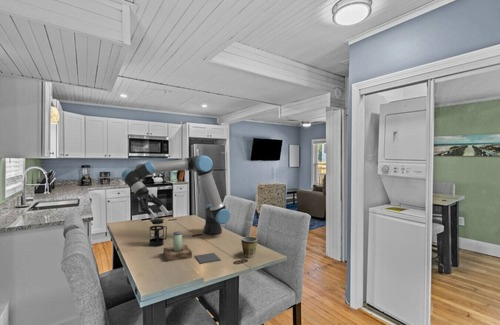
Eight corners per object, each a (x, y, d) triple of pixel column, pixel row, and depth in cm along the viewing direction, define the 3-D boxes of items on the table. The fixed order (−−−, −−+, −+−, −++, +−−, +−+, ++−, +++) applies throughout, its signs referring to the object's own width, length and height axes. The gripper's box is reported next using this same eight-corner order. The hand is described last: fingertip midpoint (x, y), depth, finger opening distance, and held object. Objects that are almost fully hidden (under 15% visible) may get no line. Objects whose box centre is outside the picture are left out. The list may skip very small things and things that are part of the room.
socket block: (186, 250, 161) (186, 244, 161) (191, 257, 149) (191, 251, 149) (163, 253, 155) (163, 247, 155) (167, 261, 143) (167, 255, 143)
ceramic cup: (259, 257, 151) (259, 240, 152) (243, 259, 149) (243, 242, 149) (252, 250, 164) (253, 234, 164) (238, 251, 161) (238, 235, 161)
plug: (180, 253, 155) (181, 231, 155) (182, 256, 151) (182, 233, 151) (172, 254, 153) (172, 231, 153) (173, 257, 149) (174, 233, 149)
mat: (213, 253, 156) (213, 252, 156) (220, 260, 146) (220, 259, 146) (194, 256, 151) (194, 255, 151) (200, 263, 140) (200, 262, 140)
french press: (148, 247, 165) (149, 212, 166) (147, 243, 174) (147, 210, 174) (167, 245, 171) (168, 211, 171) (165, 241, 179) (165, 209, 179)
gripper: (148, 192, 170) (167, 216, 167) (122, 196, 146) (144, 224, 143) (155, 184, 169) (175, 208, 166) (130, 187, 145) (153, 215, 141)
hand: (161, 216), depth 154 cm, fingers open, 13 cm apart
